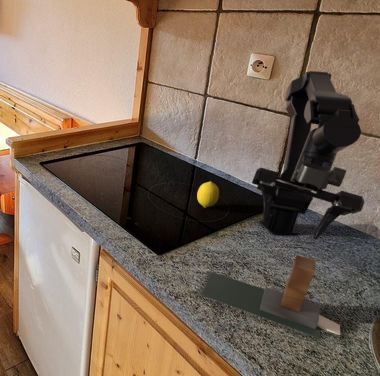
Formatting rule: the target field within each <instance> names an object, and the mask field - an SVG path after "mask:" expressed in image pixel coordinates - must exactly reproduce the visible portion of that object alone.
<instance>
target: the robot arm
mask: <svg viewBox="0 0 380 376" xmlns="http://www.w3.org/2000/svg"><path fill="white" fill-rule="evenodd" d="M331 79H332V73H329V72H328V71H317V70H309V71H305V73H304V74H303V75H302V76H300V77H297V78H295V79H293V80H292V81H290V83H289V85H288V87H286V88H287V89H286V92H285V96H284V101H285V102H286V105H285V111H286V112H287V114H288V116H289V117H290V119H291V120H290V125H289V132H288V139H287V144H286V145H287V146H286V151H285V158H284V163H283V170H282V173H281V174H280V175H279V173H280V172H279V171H275V170H271V169H268V168H264V167H258V168H256V170H255V173H254V176H253V178H252V180H251V181H252V182H251V184H253V185H255V186H257V187H256V189H257V190H259V191H261V197H262V220H259V224H261V225H262V226H263V227H264V228H265V229H266V230H267V231H268V232H269V233H271V234H272V235H273V236H275V235H276V236H277V235H278V236H279V235H280V236H281V235H297V234H298V231H296V230H295V229H294V228H295V225H296V223H297V219H298V216H299V214H301V215H305V214H306V213H307V211H308V209H309V207H310V205H311V203H312V202H313V200H314V198H315V199H318V200H321V201H324V202H327V203H330V204H331V206H329V207H327V208H326V211H325V212H324V214H323V216H322V218H321V220H320V222H319V224H318V226H317V228H316V230H315V232H314V235H313V240H318V238H319V237H320V236H321V235H322V233H324V232H325V230H326V229H327V228H328V227H329V226H330V225H331V224H332V223H333V222H334V221H335V220H337V219H338V218H339V217H340V216H347V215H349V214H351V215H352V214H357V213H360V212H362V210H363V208H364V205H365V199H364V196H363V195H358V194H356V193H355V194H354V193H352V192H348V191H344V190H340V191H338V192H336V193H334V192H330V191H326V190H327V188H328V186H329V185H330V186H333V187H337V188H340V187H341V185H342V184H343V182H344V179H345V177H346V173H347V169H344V168H340V167H337V166H333V165H334V162H335V160H336V157H337V155H338V153H339V152H340V151H342V150H344V149H346V148H348V147H350V146H351V145H354V144H355V143H357V141H358V140H359V139H360V137H361V134H362V129H361V126H360V124H359V122H360V118H359V116H358V113H357V111H356V107H355V104H354V103H353V100H352V99H351V97H350V96H348V95H346V94H343V93H339V92H337V90H336V88H335V86H334V84H333V82H332V80H331ZM312 125H317V127H316V128H313V129H312Z"/></svg>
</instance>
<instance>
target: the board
mask: <svg viewBox="0 0 380 376" xmlns="http://www.w3.org/2000/svg"><path fill="white" fill-rule="evenodd" d="M264 291H265V288H261V287H258V286H254V285H252V284H249V283H246V282H244V281H240V280H238V279H234V278H231V277H228V276H225V275H222V274H220V273H217V272H214V271H211V272H210V274H209V276H208V278H207V281H206V283H205V285H204V287H203V290H202V291H201V294H200V295H201V296H203V297H205V298H208V299H211V300H214V301H216V302H219V303H222V304H224V305H227V306H230V307H233V308H236V309H239V310H241V311H242V312H243V311H244V312H246V313H249V314H251V315H255V316H257V317H260V318H263V319H265V320H268V321H271V322H274V323H276V324H279V325H282V326H284V327H287V328H290V329H293V330H295V331H298V332H300V333H304V334H305V335H309V336H312V337H314V338H317V339H321V328H320V327H318V326H317V327H316V329H312V328H310V327H307V326H304V325H301V324H299V323H296V322H293V321H290V320H288V319H285V318H282V317H279V316H277V315H274V314H271V313H268V312H266V311H263V310H260V306H261V302H262V298H263V294H264ZM319 315H321V316H322V308H321V307H319Z"/></svg>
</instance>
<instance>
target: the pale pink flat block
mask: <svg viewBox="0 0 380 376" xmlns="http://www.w3.org/2000/svg"><path fill="white" fill-rule="evenodd" d="M317 326H318V327H320V329H322V330H324V331H327V332H330V333H333V334H336V335H338V336H341V325H340V324H339V323H337V322H335V321H333V320H330V319H329V318H326V317H325V316H323V315H322V314H321V315H319V322H318V324H317Z"/></svg>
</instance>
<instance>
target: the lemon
mask: <svg viewBox="0 0 380 376" xmlns="http://www.w3.org/2000/svg"><path fill="white" fill-rule="evenodd" d="M219 195H220V190H219V187H218V186H217V184H215V183H214V182H213V181H207V182H204V183H202V184H201V185H200V186H199V188H198V190H197V194H196V196H197V197H196V198H197V201H198V203H199V205H201V206H202V207H203V208H205V209H207V208H209V207H210V208H211V207H212V206H214V205H216V203H217V202H218V200H219V197H220V196H219Z"/></svg>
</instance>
